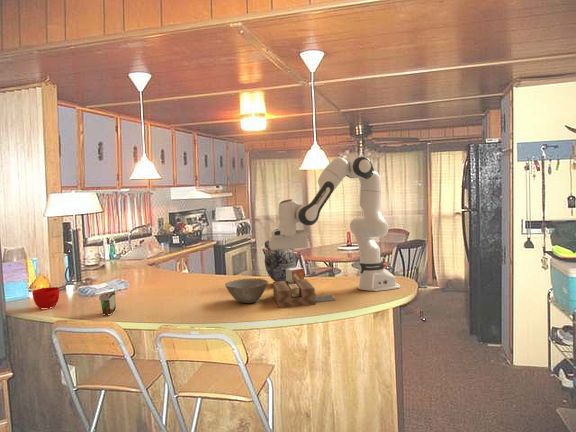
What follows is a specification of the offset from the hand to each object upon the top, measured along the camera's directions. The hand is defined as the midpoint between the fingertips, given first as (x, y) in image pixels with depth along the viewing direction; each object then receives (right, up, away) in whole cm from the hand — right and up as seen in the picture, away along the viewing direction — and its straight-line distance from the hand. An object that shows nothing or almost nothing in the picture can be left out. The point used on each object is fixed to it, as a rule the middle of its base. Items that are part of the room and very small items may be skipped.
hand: (289, 257), depth 259 cm
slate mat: (+17, -21, -7) cm, 28 cm away
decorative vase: (-4, -19, +35) cm, 41 cm away
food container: (-91, -27, -12) cm, 95 cm away
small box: (+4, -20, +13) cm, 25 cm away
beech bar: (+2, -18, -9) cm, 20 cm away
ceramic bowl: (-21, -23, -3) cm, 31 cm away
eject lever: (+2, -19, -6) cm, 20 cm away
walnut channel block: (+2, -22, -6) cm, 22 cm away
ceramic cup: (-129, -28, +7) cm, 132 cm away
